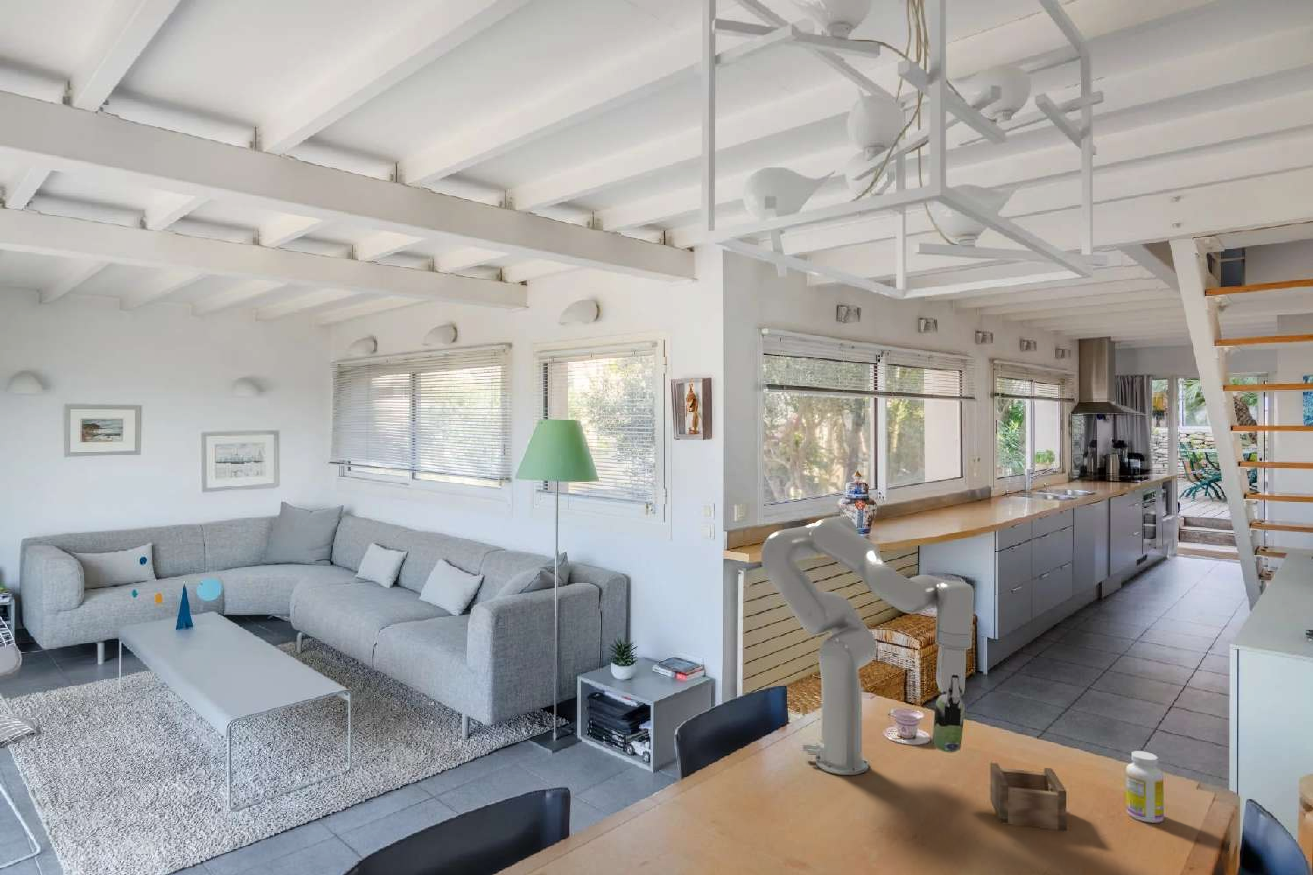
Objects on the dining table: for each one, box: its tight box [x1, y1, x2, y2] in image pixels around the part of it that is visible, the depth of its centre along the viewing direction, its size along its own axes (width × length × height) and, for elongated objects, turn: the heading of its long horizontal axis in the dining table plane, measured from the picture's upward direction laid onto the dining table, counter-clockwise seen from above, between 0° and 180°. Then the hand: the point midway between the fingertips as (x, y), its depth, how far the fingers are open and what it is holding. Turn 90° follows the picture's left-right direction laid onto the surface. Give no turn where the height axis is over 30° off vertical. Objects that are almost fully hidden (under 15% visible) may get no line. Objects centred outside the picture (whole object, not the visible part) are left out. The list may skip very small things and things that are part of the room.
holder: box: [989, 762, 1067, 832], centre depth 163 cm, size 12×11×8 cm
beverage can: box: [931, 693, 965, 754], centre depth 172 cm, size 6×7×12 cm
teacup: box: [883, 708, 932, 746], centre depth 206 cm, size 12×12×6 cm
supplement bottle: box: [1125, 750, 1165, 824], centre depth 163 cm, size 7×7×13 cm
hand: (949, 718), depth 171 cm, fingers closed on beverage can, 6 cm apart
